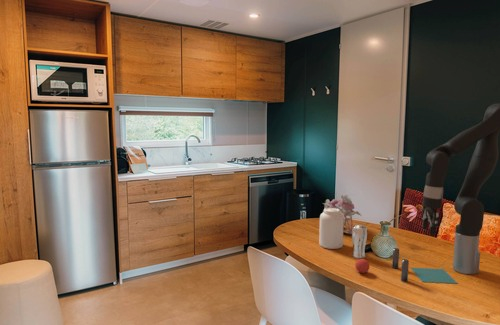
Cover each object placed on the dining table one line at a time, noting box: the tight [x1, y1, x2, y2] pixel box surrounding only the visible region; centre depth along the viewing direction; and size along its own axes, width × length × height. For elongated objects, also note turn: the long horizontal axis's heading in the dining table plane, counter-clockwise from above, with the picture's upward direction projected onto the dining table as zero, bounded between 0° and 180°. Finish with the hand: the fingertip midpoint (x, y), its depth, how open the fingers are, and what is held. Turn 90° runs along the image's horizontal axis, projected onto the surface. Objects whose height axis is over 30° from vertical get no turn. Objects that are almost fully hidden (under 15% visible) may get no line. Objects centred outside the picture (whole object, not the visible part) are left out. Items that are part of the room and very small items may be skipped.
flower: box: [322, 194, 362, 235], centre depth 214 cm, size 20×22×25 cm
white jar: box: [318, 207, 345, 250], centre depth 190 cm, size 12×12×20 cm
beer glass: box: [351, 224, 368, 259], centre depth 175 cm, size 7×7×15 cm
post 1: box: [391, 247, 400, 270], centre depth 161 cm, size 3×3×9 cm
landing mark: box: [410, 267, 458, 285], centre depth 154 cm, size 14×14×1 cm
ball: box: [354, 258, 370, 274], centre depth 157 cm, size 6×6×6 cm
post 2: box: [400, 258, 410, 283], centre depth 149 cm, size 3×3×9 cm
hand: (428, 231), depth 158 cm, fingers open, 8 cm apart
